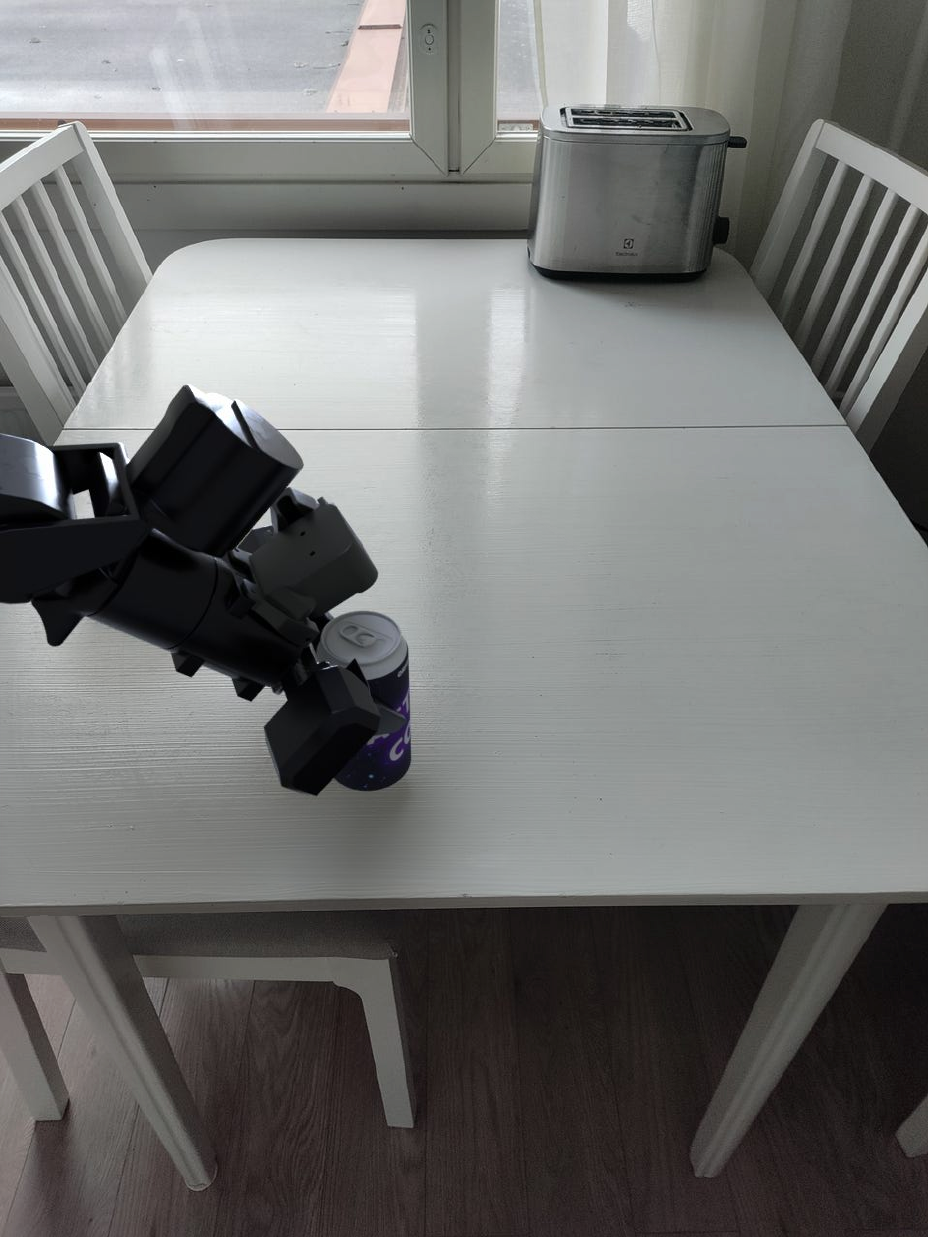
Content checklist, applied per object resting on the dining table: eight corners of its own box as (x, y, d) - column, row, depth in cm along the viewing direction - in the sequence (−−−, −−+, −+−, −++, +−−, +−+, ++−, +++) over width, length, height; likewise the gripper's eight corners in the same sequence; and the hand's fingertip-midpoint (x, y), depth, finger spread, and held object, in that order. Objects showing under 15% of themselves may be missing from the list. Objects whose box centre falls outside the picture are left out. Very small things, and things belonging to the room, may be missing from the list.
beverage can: (373, 814, 63) (364, 681, 55) (311, 773, 65) (294, 640, 57) (428, 763, 66) (427, 630, 58) (367, 725, 69) (358, 594, 61)
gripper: (328, 592, 43) (534, 703, 53) (237, 408, 56) (416, 526, 66) (180, 760, 46) (404, 834, 56) (126, 547, 59) (316, 639, 69)
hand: (385, 694), depth 62 cm, fingers closed on beverage can, 5 cm apart
